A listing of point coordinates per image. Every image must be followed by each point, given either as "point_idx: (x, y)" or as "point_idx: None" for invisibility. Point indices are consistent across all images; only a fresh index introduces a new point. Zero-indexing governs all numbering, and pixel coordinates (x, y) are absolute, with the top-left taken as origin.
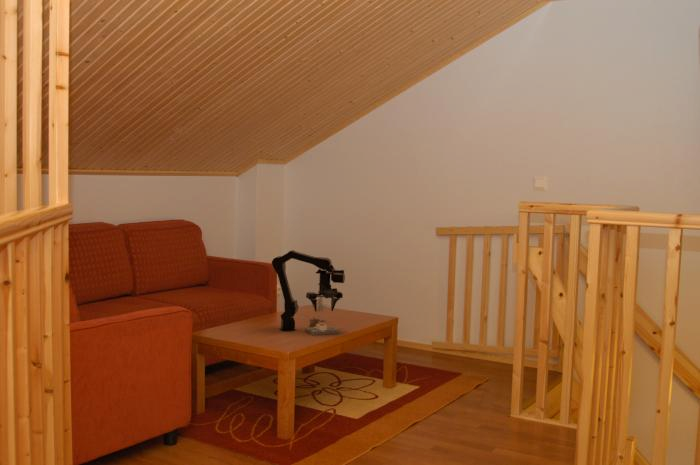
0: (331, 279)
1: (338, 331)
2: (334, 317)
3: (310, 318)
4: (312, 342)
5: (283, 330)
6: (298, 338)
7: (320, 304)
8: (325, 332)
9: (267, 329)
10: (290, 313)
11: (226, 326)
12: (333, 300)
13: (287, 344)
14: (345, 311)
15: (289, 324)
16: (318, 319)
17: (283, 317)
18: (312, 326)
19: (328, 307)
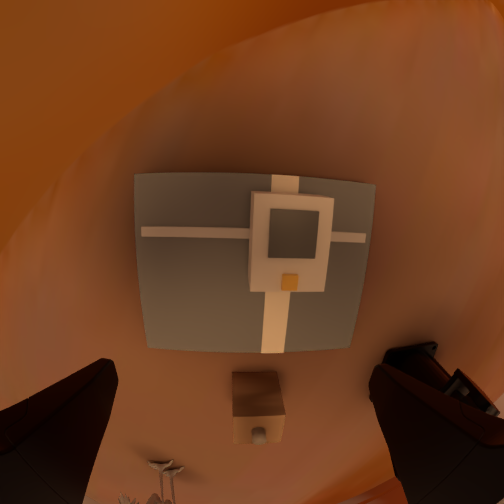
0: None
1: (148, 174)
2: (103, 470)
3: (278, 437)
4: (419, 32)
5: (435, 344)
6: (459, 147)
7: None
8: (268, 174)
9: None
10: (479, 390)
11: None
12: (18, 485)
13: (501, 81)
14: None
15: (428, 366)
16: (174, 472)
17: (474, 383)
18: (274, 380)
19: (121, 499)
